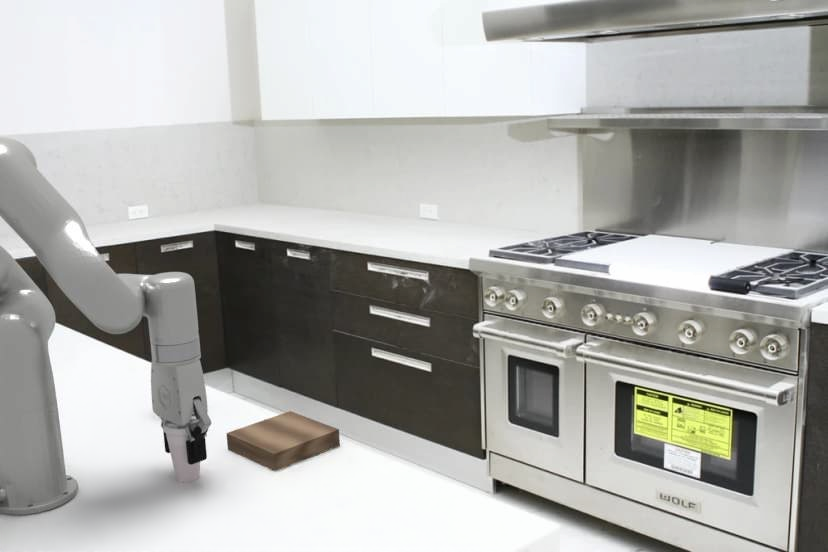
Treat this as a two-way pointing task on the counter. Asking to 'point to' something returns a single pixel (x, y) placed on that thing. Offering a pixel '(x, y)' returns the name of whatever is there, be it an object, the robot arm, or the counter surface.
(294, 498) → the counter surface
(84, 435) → the counter surface
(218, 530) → the counter surface
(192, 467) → the smoothie
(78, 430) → the counter surface
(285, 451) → the walnut base
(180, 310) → the robot arm
